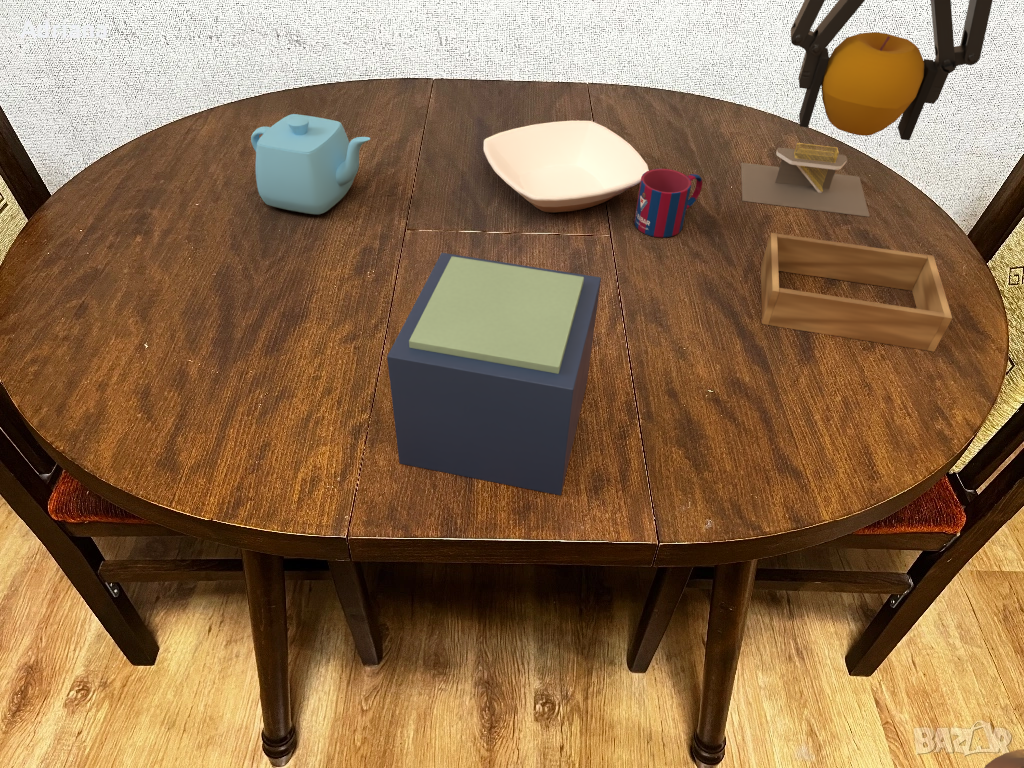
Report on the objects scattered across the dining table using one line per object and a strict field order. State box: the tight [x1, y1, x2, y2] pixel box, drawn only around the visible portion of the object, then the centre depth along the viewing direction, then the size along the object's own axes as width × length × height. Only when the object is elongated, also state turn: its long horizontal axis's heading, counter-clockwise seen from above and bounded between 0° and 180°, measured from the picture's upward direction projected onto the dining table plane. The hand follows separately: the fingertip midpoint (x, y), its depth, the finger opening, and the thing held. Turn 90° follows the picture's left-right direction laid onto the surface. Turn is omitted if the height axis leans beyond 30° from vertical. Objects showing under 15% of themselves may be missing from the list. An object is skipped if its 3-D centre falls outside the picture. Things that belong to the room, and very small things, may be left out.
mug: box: [633, 168, 703, 239], centre depth 105 cm, size 7×10×7 cm
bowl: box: [483, 120, 650, 213], centre depth 111 cm, size 22×22×5 cm
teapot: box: [250, 113, 372, 215], centre depth 105 cm, size 12×18×12 cm
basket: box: [760, 232, 953, 352], centre depth 93 cm, size 13×20×5 cm, turn 77°
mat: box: [409, 257, 584, 374], centre depth 69 cm, size 13×13×1 cm
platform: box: [740, 142, 870, 218], centre depth 113 cm, size 12×18×7 cm, turn 78°
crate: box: [386, 252, 602, 496], centre depth 74 cm, size 16×16×14 cm
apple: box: [820, 31, 924, 137], centre depth 71 cm, size 8×8×9 cm
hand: (853, 127), depth 74 cm, fingers closed on apple, 9 cm apart
